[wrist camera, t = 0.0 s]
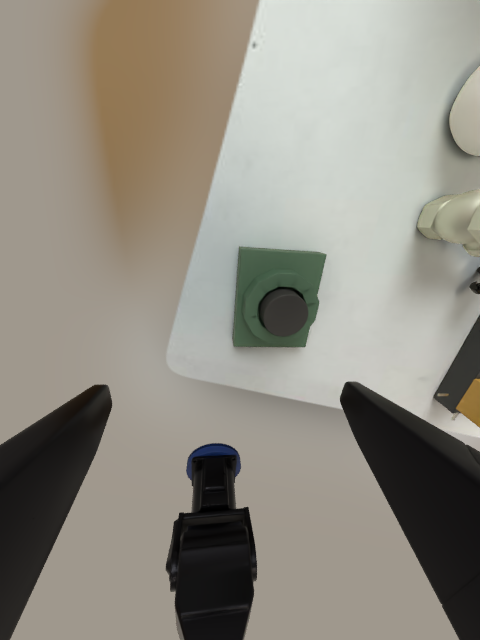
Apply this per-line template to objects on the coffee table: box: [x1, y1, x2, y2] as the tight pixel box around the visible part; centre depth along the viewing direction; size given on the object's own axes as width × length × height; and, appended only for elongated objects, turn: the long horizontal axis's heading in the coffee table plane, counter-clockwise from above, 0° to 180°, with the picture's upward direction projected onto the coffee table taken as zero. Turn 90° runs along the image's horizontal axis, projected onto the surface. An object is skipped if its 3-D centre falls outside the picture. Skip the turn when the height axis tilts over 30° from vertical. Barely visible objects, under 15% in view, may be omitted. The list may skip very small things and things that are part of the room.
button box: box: [233, 247, 326, 347], centre depth 22 cm, size 10×8×4 cm
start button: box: [260, 289, 308, 336], centre depth 20 cm, size 4×4×2 cm
